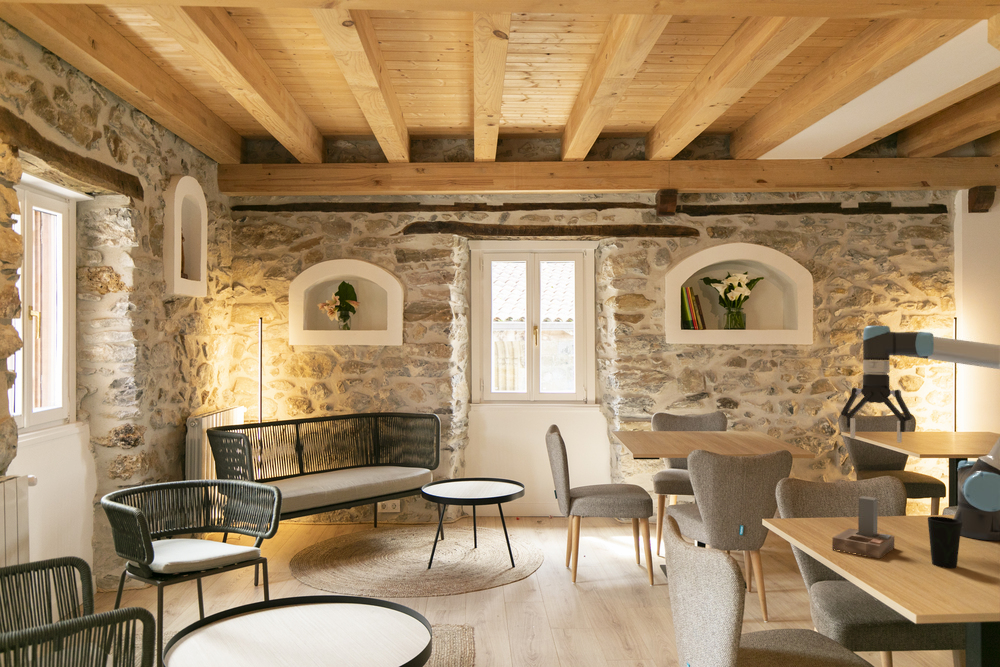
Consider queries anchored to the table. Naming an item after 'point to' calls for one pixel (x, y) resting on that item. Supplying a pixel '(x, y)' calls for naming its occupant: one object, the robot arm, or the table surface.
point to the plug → (867, 516)
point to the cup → (944, 541)
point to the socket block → (863, 543)
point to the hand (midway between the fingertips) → (875, 440)
